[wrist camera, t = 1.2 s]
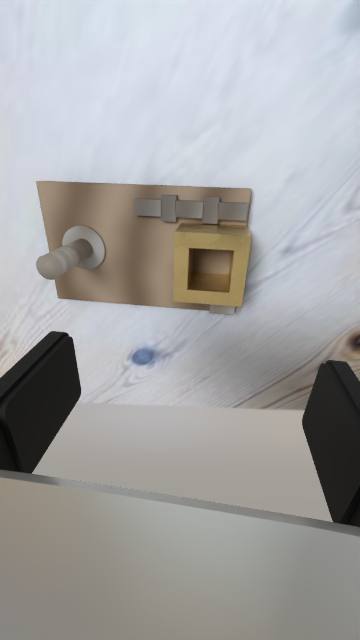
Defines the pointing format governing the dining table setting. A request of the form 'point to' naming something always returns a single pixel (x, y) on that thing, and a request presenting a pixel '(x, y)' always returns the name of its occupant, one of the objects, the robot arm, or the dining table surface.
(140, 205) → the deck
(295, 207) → the dining table surface
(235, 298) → the end link
